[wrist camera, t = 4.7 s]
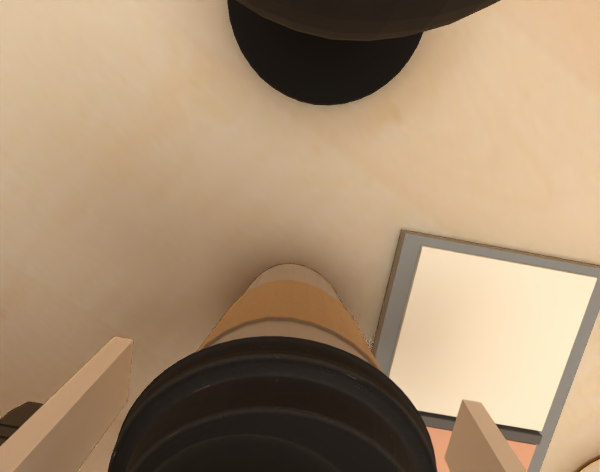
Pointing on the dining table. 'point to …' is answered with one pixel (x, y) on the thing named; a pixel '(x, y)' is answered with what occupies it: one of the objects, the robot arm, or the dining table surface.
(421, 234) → the makeup palette
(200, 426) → the coffee cup
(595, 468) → the jar
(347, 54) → the wine glass
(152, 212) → the dining table surface
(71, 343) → the dining table surface
